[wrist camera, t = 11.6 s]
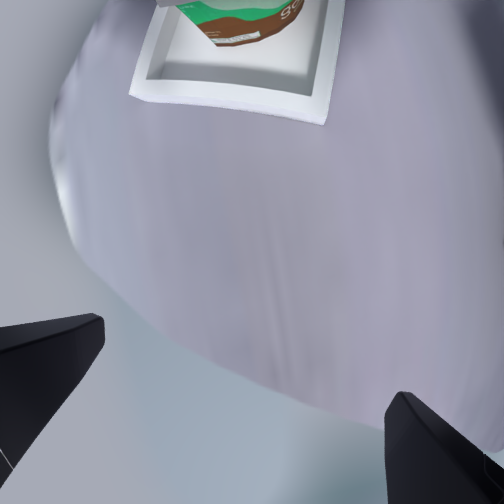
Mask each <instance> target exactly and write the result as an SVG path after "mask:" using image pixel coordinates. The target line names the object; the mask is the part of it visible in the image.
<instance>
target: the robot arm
mask: <svg viewBox="0 0 504 504" xmlns="http://www.w3.org/2000/svg"><path fill="white" fill-rule="evenodd" d="M104 343H105V327H104V319H103V318H102V317H101V316H99V315H96V314H93V313H89V314H83V315H77V316H71V317H65V318H59V319H52V320H46V321H39V322H33V323H26V324H20V325H13V326H6V327H0V488H1V487H2V485H3V484H4V482H5V481H6V480H7V478H8V477H9V475H10V474H11V472H12V471H13V469H14V468H15V466H16V465H17V463H18V462H19V461H20V460H21V458H22V457H23V455H24V454H25V453H26V451H27V450H28V449H29V447H30V446H31V444H32V443H33V442H34V440H35V439H36V438H37V436H38V435H39V434H40V432H41V431H42V430H43V429H44V427H45V426H46V425H47V423H48V422H49V421H50V419H51V418H52V417H53V416H54V414H55V413H56V412H57V410H58V409H59V408H60V406H61V405H62V404H63V403H64V401H65V400H66V399H67V398H68V396H69V395H70V394H71V393H72V391H73V390H74V389H75V388H76V386H77V385H78V384H79V383H80V381H81V380H82V378H83V377H84V375H85V374H86V372H87V371H88V369H89V368H90V366H91V365H92V363H93V362H94V360H95V358H96V357H97V355H98V354H99V352H100V351H101V349H102V348H103V346H104ZM384 423H385V469H386V480H387V495H388V504H504V469H503V468H502V467H501V466H499V465H498V464H497V463H495V462H494V461H493V460H491V459H490V458H489V457H488V456H487V455H486V454H483V452H482V451H481V450H480V449H478V448H477V447H476V446H475V445H474V444H472V443H471V442H470V441H469V440H467V439H466V438H465V437H464V436H463V435H461V434H460V433H459V432H458V431H457V430H455V429H454V428H453V427H452V426H451V425H449V424H448V423H447V422H446V421H445V420H443V419H442V418H441V417H440V416H439V415H437V414H436V413H435V412H434V411H433V410H432V409H430V408H429V407H428V406H427V405H426V404H424V403H423V402H422V401H421V400H420V399H418V398H417V397H416V396H415V395H414V394H412V393H411V392H403V391H400V392H398V393H397V394H396V395H395V397H394V399H393V400H392V402H391V404H390V405H389V407H388V409H387V410H386V413H385V417H384Z"/></svg>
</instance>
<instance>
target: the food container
mask: <svg viewBox="0 0 504 504" xmlns="http://www.w3.org/2000/svg"><path fill="white" fill-rule="evenodd" d="M304 1H305V0H156V2H157V4H158V5H159V7H160V8H162V7H168V6H176V7H177V8H178V9H179V10H180V11H181V12H182V13H183V14H185V15H186V16H187V17H188V18H189V19H190V20H191V21H192V22H193V23H194V24H195V25H196V26H197V27H198V28H199V29H200V30H201V31H202V32H203V33H204V34H205V35H206V36H207V37H208V38H209V39H210V40H211V41H212V42H213V43H214V44H215V45H216V46H217V47H235V46H239V45H244V44H249V43H254V42H259V41H261V40H263V39H265V38H268V37H270V36H272V35H274V34H277V33H279V32H280V31H282V30H283V29H284V28H285V27H287V26H288V25H289V24H290V23H292V22H293V21H294V20H295V19H296V17H297V16H298V14H299V13H300V11H301V10H302V7H303V4H304Z"/></svg>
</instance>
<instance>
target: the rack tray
mask: <svg viewBox="0 0 504 504" xmlns="http://www.w3.org/2000/svg"><path fill="white" fill-rule="evenodd" d="M345 1H346V0H305V1H304V4H303V7H302V10H301V11H300V13H299V14H298V16H297V17H296V19H295V20H294V21H293V22H292V23H290V24H289V25H288V26H287V27H285V28H284V29H283V30H282V31H280V32H279V33H277V34H274V35H272V36H270V37H268V38H265V39H263V40H261V41H259V42H254V43H249V44H244V45H239V46H235V47H217V46H216V45H215V44H214V43H213V42H212V41H211V40H210V39H209V38H208V37H207V36H206V35H205V34H204V33H203V32H202V31H201V30H200V29H199V28H198V27H197V26H196V25H195V24H194V23H193V22H192V21H191V20H190V19H189V18H188V17H187V16H186V15H185V14H183V13H182V12H181V11H180V10H179V9H178V8H177V7H176V6H168V7H162V8H160V7H159V5H158V4H157V6H156V9H155V11H154V14H153V17H152V19H151V22H150V25H149V28H148V31H147V34H146V36H145V39H144V43H143V46H142V49H141V52H140V55H139V59H138V62H137V65H136V69H135V72H134V76H133V80H132V83H131V87H130V91H129V94H130V95H132V96H134V97H137V98H139V99H141V100H143V101H146V102H158V103H176V104H189V105H200V106H210V107H219V108H227V109H235V110H242V111H249V112H255V113H261V114H267V115H273V116H278V117H284V118H289V119H294V120H299V121H303V122H308V123H312V124H317V125H321V126H323V125H324V123H325V120H326V118H327V113H328V108H329V102H330V97H331V91H332V86H333V80H334V74H335V68H336V62H337V56H338V49H339V43H340V36H341V30H342V23H343V16H344V8H345Z"/></svg>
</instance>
